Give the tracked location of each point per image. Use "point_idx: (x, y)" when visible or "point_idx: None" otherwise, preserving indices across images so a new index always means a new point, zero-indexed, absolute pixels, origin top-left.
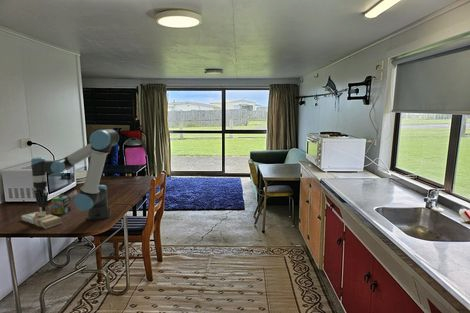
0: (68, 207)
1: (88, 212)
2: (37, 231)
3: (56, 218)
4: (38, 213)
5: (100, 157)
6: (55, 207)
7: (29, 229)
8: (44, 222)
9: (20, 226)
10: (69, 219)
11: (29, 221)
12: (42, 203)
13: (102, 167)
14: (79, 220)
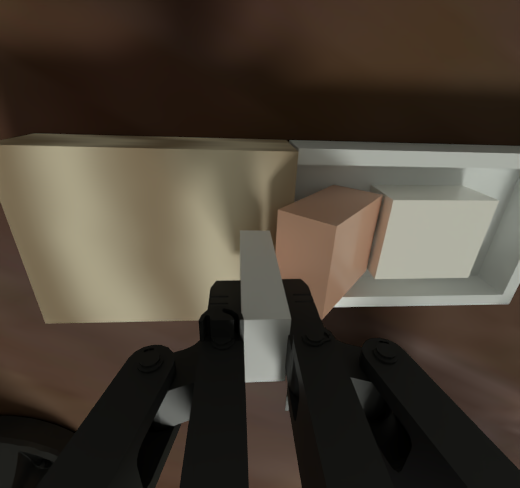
0: None
1: (2, 478)
2: (5, 20)
3: (62, 290)
4: (313, 241)
5: None
6: None
7: (167, 9)
8: (9, 144)
9: (373, 14)
10: None
11: (385, 145)
12: (142, 414)
13: None
14: (46, 379)
